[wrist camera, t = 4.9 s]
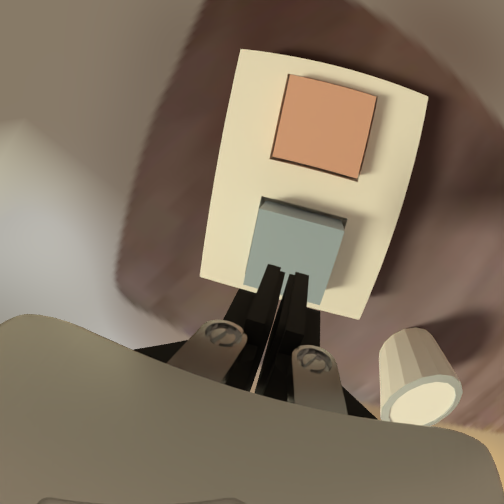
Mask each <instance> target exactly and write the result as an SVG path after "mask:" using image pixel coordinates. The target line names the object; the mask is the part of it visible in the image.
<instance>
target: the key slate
mask: <svg viewBox="0 0 504 504" xmlns="http://www.w3.org/2000/svg"><path fill="white" fill-rule="evenodd" d="M343 235H344V228H343V224H342V221H341V220H338V219H335V218H331V217H328V216H324V215H320V214H317V213H313V212H309V211H305V210H302V209H298V208H294V207H290V206H286V205H282V204H278V203H274V202H270V201H265V202H264V204H263V205H262V206H261V207H260V208H259V212H258V217H257V222H256V226H255V231H254V236H253V240H252V245H251V250H250V255H249V259H248V264H247V269H246V273H245V278H244V283H243V285H247V286H250V287H254V288H257V289H258V288H259V285H260V283H261V280H262V278H263V275H264V273H265V270H266V267H267V265H268V264H271V265H275V266H278V267H281V270H280V271H282V272H285V276H284V280H283V285H282V289H281V293H280V295H283V293H284V290H285V286H286V283H287V280H288V277H289V274H293V275H295V272H299V273H303V274H306V275H309V284H308V297H307V302H309V303H313V304H317V305H320V303H321V301H322V298H323V295H324V292H325V289H326V286H327V284H328V281H329V278H330V275H331V272H332V269H333V266H334V263H335V260H336V257H337V254H338V250H339V247H340V244H341V241H342V238H343Z"/></svg>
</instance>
